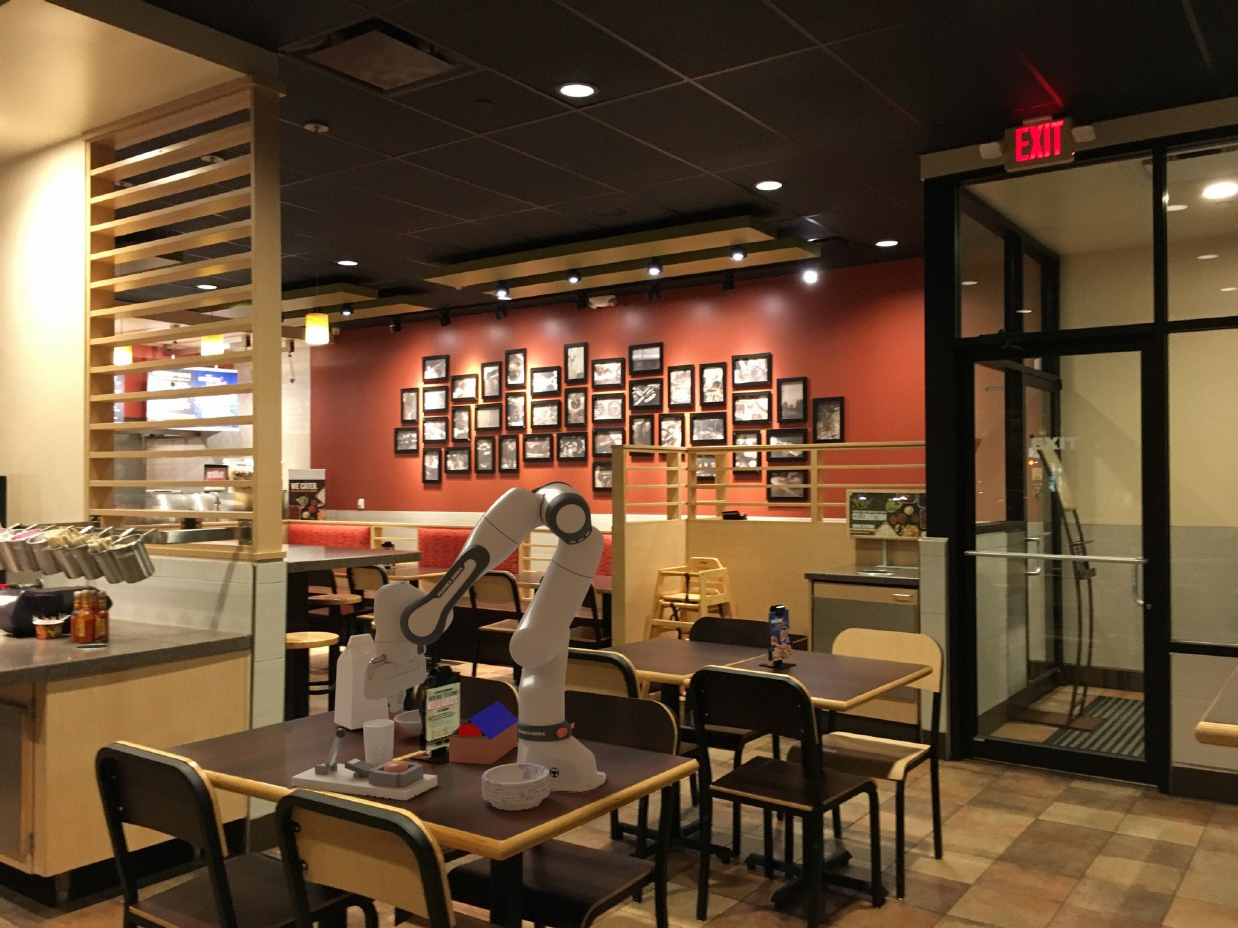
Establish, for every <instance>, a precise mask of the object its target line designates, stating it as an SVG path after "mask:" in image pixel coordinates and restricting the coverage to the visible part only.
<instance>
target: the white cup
mask: <svg viewBox="0 0 1238 928" xmlns="http://www.w3.org/2000/svg"><path fill="white" fill-rule="evenodd" d="M362 729H363V743H364V752H365V753H364V754H365V756H364V757H365V762H367V763H369V764H372V765H375V766H379V765H381V764H383V763H385V762H388V761H394V759H393V758H394V752H393V751H394V741H395V721H394V720H392V719H389V720H387V719H378V720H371V721H367V722H365V723H363V728H362Z"/></svg>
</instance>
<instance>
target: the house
mask: <svg viewBox="0 0 1238 928" xmlns="http://www.w3.org/2000/svg"><path fill="white" fill-rule="evenodd" d="M518 720H519V718H517V717H516V716H515V715H513V713H512V712H511V711H510V710H508V708H506V706H504V705H503V704H502V703H501V702H500V701H499V700H497V701H495V702H494V703H492V704H491V705H489V706H487V707H485V708H484V709H482V710H481V711H479V712H478V713H476V714H474V715H473V716H471V717H469V718H468V719H467V720H466V721H464V722H463V723H462V724H460V725H459V726H458V727H457V728H456V729H455V730H454V731H453V732H452V733H450V734H449V735H448V753H449V754H448V755H449V756H448V757H449V763H462V764H465V763H466V764H475V763H477V764H476V765H492V764H493V763H495V762H496V761H498V760H499V759H501V758H502V757H504V756H505V755H507V754H508V753H509V752H510V751H512V750H513V749H514V748H516V747H518V741H517V721H518Z"/></svg>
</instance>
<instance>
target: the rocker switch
mask: <svg viewBox="0 0 1238 928" xmlns="http://www.w3.org/2000/svg"><path fill="white" fill-rule="evenodd" d="M344 764H345V767H344V768H346V769H349V770H351V771H354V772H357V773H359V774H362V775H364V776H368V775H369V770H371V769H373V768H375V767H377V766H378V765H372V764H369V763H367V762H366V761H364V760H361V759H358V758H353V759H351V760H348V761H347V762H345V763H344Z"/></svg>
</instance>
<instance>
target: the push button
mask: <svg viewBox="0 0 1238 928" xmlns="http://www.w3.org/2000/svg"><path fill="white" fill-rule="evenodd" d="M408 762H409V761H406V760H392V761H390V762H387V763H385V764H384V771H388V772H396V773H401V772H403V771H405V770H407V769H408Z"/></svg>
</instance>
